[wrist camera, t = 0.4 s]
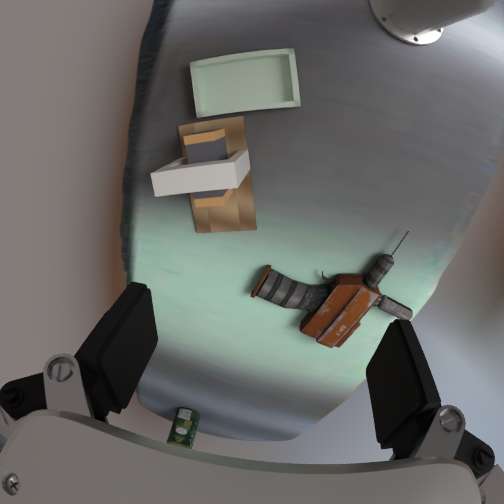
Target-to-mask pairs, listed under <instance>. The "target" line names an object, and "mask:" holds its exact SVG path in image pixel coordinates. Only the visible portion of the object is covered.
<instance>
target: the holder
mask: <svg viewBox="0 0 504 504" xmlns="http://www.w3.org/2000/svg"><path fill="white" fill-rule="evenodd" d="M178 128H179V135H180V141H181V147H182V153H183V157H187V152H186V146H185V144H184V138H183V136H186V135H190V134H193V133H197V132H202V131H209V130H216V129H223V128H224V130H225V140H226V148H227V155H228V159H229V158H231V157H232V156H233V155H234V154H235V153H237V152H238V151H239V150H245V149H247V141H246V132H245V124H244V116H239V117H231V118H223V119H217V120H210V121H204V122H198V123H192V124H187V125H181V126H178ZM232 190H233V193H232V194H231V196H230V197H229V199H228V200H227V202H226V203H225V205H221V206H208V207H197V208H196V207H195V202H194V199H195V198H194V193H193V192H191V193H190V198H191V204H192V209H193V214H194V219H195V224H196V229H197V233H206V232H223V231H242V230H256V229H257V227H256V218H255V209H254V200H253V192H252V183H251V175H250V170H249V172H248V173H247V175H246V176H245V178H244V179H243V181H242V182H241V184H240V185H239V187H238V188H232Z"/></svg>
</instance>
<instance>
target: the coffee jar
mask: <svg viewBox="0 0 504 504" xmlns="http://www.w3.org/2000/svg"><path fill="white" fill-rule="evenodd" d="M198 423H199V414H198V413H197V412H195V411H193V410H191V409H187V408H179V409H178V410H177V413H176V416H175V419H174V422H173V425H172V428H171V431H170V434H169V437H168V440H167V443H169V444H172V445H176V446H180V447H184V448H188V449H192V446H193V442H194V438H195V434H196V430H197V427H198Z"/></svg>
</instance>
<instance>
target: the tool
mask: <svg viewBox="0 0 504 504" xmlns="http://www.w3.org/2000/svg"><path fill="white" fill-rule="evenodd" d="M408 232H409V231H408ZM408 232H407V233H406V235H407V234H408ZM406 235H405V236H406ZM405 236H404V238H405ZM404 238H403V239H404ZM403 239H402V240H401V242H402V241H403ZM401 242H400V243H399V245H400V244H401ZM399 245H398V246H397V248H398V247H399ZM397 248H396V249H397ZM396 249H395V250H394V252H395V251H396ZM394 252H393V253H392V255H393V254H394ZM392 255H391V256H390V255H389V254H383V255H382V256H381V257H380V259H379V260H378V261H377V263H376V264H375V266H374V267H373V268H372V270H371V271H370V272H369V274H368V275H367V276H366V278H364V277H362V275H352V274H338V275H336V276H335V278H334V279H333V280H329V279H327V278H326V277H324V276H323V271H322V278H323V279H324V280H325V281H326V282H327V283H330V285H328V286H311V285H308V284H304V283H301V282H298V281H294V280H292V279H290V278H288V277H286V276H284V275H283V274H281V273H279V272H277V271H275V270H273V269H271V265H267V268H266V271H265V273H264V275H263V276H262V278H261V280H260V282H259V283H258V285H257V287H256V288H255V290H254V291H252V293H251V297H253V298H254V297H255V295H256V296H258V297H260V298H263V299H265V300H267V301H270V302H272V303H274V304H277V305H279V306H281V307H284V308H293V309H306V310H307V311H308V314H307V315H306V316H305V318H304V319H303V320H302V321H301V324H300V332H302V333H304V334H307V335H309V336H311V337H314V338H316V342H317V343H320V344H322V345H325V346H327V347H330V348H333V347H334V346H336V347H338V348H339V347H340V346H341V345H342V344H343V343H344V342H345V341H346V340H347V339H348V338H349V337H350V336H351V335H352V334H353V333H354V332H355V330H356V329H357V328H358V327H359V326H360V325H361V324H360V320H361V319H362V317H363V316H364V315H365V314H366V313H367V312H368V311H369V309H370V308H371V307H372V306H378V307H379V308H380V309H382V310H384V311H386V312H388V313H390V314H392V315H394V316H396V317H398V318H400V319H403V320H410V319H411V318H412V316H413V312H412V310H411V309H410V308H408V307H407V306H405V305H403V304H401V303H399V302H397V301H395V300H394V299H392V298H390V297H388V296H386V295H382V294H381V293H380V291H379V288H378V284H379V283H380V282H381V280H382V279H383V278H384V276H385V275H386V274H387V273H388V271H389V270H390V269H391V267H392V266H393V265H394V261H393V257H392Z"/></svg>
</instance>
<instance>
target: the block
mask: <svg viewBox="0 0 504 504" xmlns="http://www.w3.org/2000/svg"><path fill="white" fill-rule="evenodd" d="M183 138H184V144H185V146H186V152H187V159H188V164H194V163H202V162H210V161H218V160H227V159H228V155H227V148H226V140H225V130H224V128H223V129H216V130H209V131H202V132H197V133H193V134H190V135H186V136H183ZM193 193H194V198H195V199H194V202H195V207H196V208H197V207H208V206H221V205H225V203H226V202H227V200H228V199H229V197H230V196H231V194H232V193H233V190H232V189H221V190H210V191H200V192H193Z"/></svg>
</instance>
